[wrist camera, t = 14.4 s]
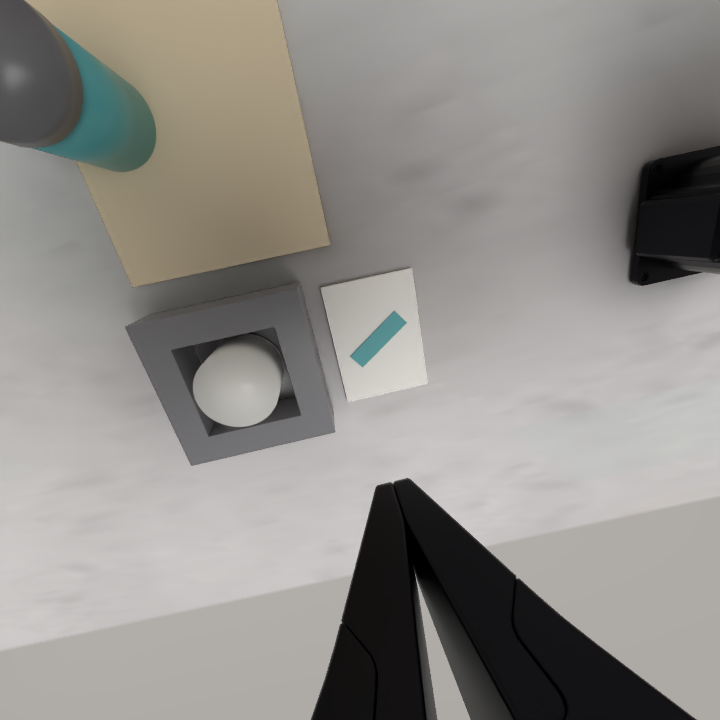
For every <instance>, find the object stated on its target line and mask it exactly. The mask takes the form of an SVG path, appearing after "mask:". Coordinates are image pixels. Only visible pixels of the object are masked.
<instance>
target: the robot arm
mask: <svg viewBox="0 0 720 720" xmlns="http://www.w3.org/2000/svg"><path fill="white" fill-rule="evenodd" d="M654 168H655V169H656V170H655V173H653V170H654ZM702 272H706V273H715V274H720V146H717V147H712V148H708V149H703V150H698V151H694V152H689V153H684V154H679V155H675V156H670V157H665V158H661V159H656V160H652V161H649V162H648V163H647V164H646V165H645V166H644V168H643V171H642V177H641V187H640V196H639V206H638V215H637V225H636V234H635V244H634V253H633V263H632V272H631V281H632V283H633V284H635V285H641V286H644V285H648V284H653V283H657V282H662V281H666V280H671V279H675V278H679V277H684V276H688V275H693V274H697V273H702ZM642 275H643V277H642V278H641V276H642ZM415 574H416V576H415ZM416 578H417V581H418V583H419V586H420V589H421V592H422V594H423V597H424V599H425V602H426V605H427V607H428V610H429V613H430V615H431V618H432V620H433V623H434V626H435V628H436V631H437V633H438V636H439V638H440V641H441V644H442V646H443V649H444V651H445V654H446V657H447V659H448V662H449V664H450V667H451V669H452V672H453V675H454V677H455V680H456V682H457V685H458V687H459V690H460V693H461V695H462V698H463V701H464V703H465V706H466V708H467V711H468V714H469V716H470V719H471V720H696V719H695V718H694V717H692V716H691V715H690V714H688V713H687V712H686V711H684V710H683V709H681V708H680V707H679V706H678V705H676V704H675V703H674V702H672V701H671V700H670V699H668V698H667V697H666V696H664V695H663V694H662V693H661V692H659V691H658V690H657V689H655V688H654V687H653V686H651V685H650V684H649V683H648V682H646V681H645V680H644V679H642V678H641V677H640V676H638V675H637V674H636V673H634V672H633V671H632V670H630V669H629V668H628V667H626V666H625V665H624V664H623V663H621V662H620V661H618V660H617V659H616V658H615V657H613V656H612V655H611V654H609V653H608V652H607V651H605V650H604V649H603V648H602V647H600V646H599V645H597V644H596V643H595V642H594V641H592V640H591V639H590V638H589V637H587V636H586V635H585V634H584V633H582V632H581V631H580V630H579V629H577V628H576V627H575V626H573V625H572V624H571V623H570V622H568V621H567V620H566V619H565V618H563V617H562V616H561V615H560V614H559V613H558V612H556V611H555V610H554V609H553V608H552V607H551V606H549V605H548V604H547V603H546V602H545V601H544V600H543V599H541V598H540V597H539V596H538V595H537V594H536V593H535V592H534V591H532V590H531V589H530V588H529V587H528V586H527V585H526V584H525V583H524V582H523V581H521V580H520V579H516V575H515V574H514V573H513V572H511V571H510V570H509V569H508V568H507V567H506V566H505V565H504V564H503V563H502V562H500V561H499V560H498V559H497V558H496V557H495V556H494V555H493V554H492V553H491V552H489V551H488V550H487V549H486V548H485V547H484V546H483V545H482V544H481V543H480V542H479V541H478V540H476V539H475V538H474V537H473V536H472V535H471V534H470V533H469V532H468V531H467V530H465V529H464V528H463V527H462V526H461V525H460V524H459V523H458V522H457V521H456V520H455V519H453V518H452V517H451V516H450V515H449V514H448V513H447V512H446V511H445V510H444V509H442V508H441V507H440V506H439V505H438V504H437V503H436V502H435V501H434V500H433V499H432V498H430V497H429V496H428V495H427V494H426V493H425V492H424V491H423V490H422V489H421V488H419V487H418V486H417V485H416V484H415V483H414V482H413V481H412V480H411V479H409V478H406V479H402V480H397V481H395V482H394V483H393V484H392V483H391V482H389V483H385V484H381V485H378V486H377V487H376V489H375V492H374V496H373V500H372V504H371V508H370V512H369V515H368V519H367V523H366V527H365V531H364V535H363V539H362V542H361V546H360V550H359V554H358V558H357V562H356V566H355V569H354V573H353V577H352V581H351V585H350V589H349V593H348V596H347V600H346V604H345V608H344V612H343V616H342V624H340V627H339V630H338V634H337V638H336V642H335V646H334V649H333V653H332V656H331V660H330V663H329V667H328V671H327V673H326V677H325V680H324V683H323V686H322V689H321V692H320V695H319V698H318V701H317V703H316V707H315V709H314V712H313V715H312V718H311V720H437V715H436V708H435V701H434V694H433V688H432V681H431V674H430V668H429V661H428V654H427V647H426V641H425V634H424V627H423V621H422V614H421V607H420V600H419V594H418V587H417V582H416Z"/></svg>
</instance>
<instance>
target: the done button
mask: <svg viewBox="0 0 720 720" xmlns="http://www.w3.org/2000/svg"><path fill="white" fill-rule="evenodd" d="M284 371H285V367H284V361H283V358H282V355H281V354H280V352H279V350H278V349H277V348H276V347H275V346H274V345H273V344H272V343H271V342H270V341H268V340H266V339H265V338H263V337H260V336H257V335H253V334H241V335H236V336H232V337H229V338H227V339H225V340H224V341H223V342H221V343H220V344H219V345H218V347H217V348H216V349H215V350H214V351H213V352H212V353H211V355H210V356H209V357H208V358H207V359H206V360H205V362H204V363H203V364H202V365H201V366H200V367H199V369H198V370H197V372H196V374H195V377H194V380H193V394H194V397H195V400H196V402H197V404H198V406H199V407H200V409H201V410H202V411H203V412H204V413H205V414H206V415H207V416H208V417H210V418H211V419H213V420H214V421H216V422H218V423H221V424H223V425H227V426H232V427H246V426H251V425H254V424H257V423H259V422H261V421H262V420H264V419H265V418H267V417H268V416H269V415H270V414H271V413H272V411H273V410H274V408H275V407H276V404H277V402H278V398H279V394H280V389H281V385H282V381H283V377H284Z"/></svg>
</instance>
